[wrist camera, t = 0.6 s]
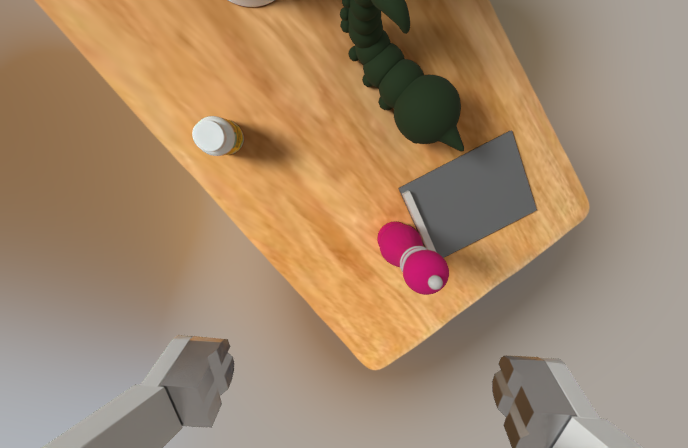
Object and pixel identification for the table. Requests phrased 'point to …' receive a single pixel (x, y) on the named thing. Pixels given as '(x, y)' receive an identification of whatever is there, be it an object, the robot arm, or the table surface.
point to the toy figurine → (401, 74)
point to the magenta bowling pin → (413, 258)
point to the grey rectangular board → (472, 195)
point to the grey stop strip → (418, 220)
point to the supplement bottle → (217, 136)
